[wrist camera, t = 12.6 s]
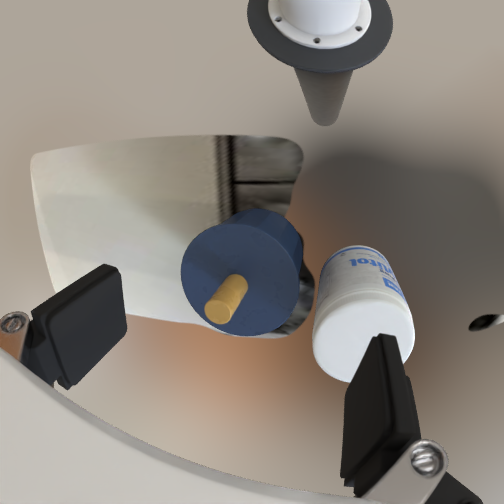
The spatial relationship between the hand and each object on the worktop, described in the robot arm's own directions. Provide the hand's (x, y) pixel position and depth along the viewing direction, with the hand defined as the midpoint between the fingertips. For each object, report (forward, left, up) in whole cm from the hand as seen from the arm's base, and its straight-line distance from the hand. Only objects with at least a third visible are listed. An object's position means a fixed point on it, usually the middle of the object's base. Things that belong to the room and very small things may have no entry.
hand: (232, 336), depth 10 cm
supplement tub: (+8, +9, -27) cm, 30 cm away
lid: (+7, -4, -18) cm, 20 cm away
